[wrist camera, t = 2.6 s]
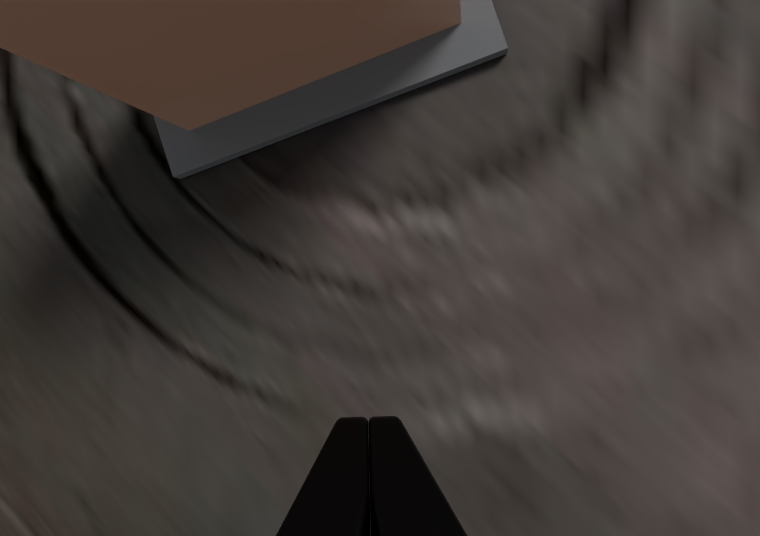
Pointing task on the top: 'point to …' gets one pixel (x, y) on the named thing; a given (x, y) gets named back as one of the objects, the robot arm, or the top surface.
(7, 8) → the terracotta tile
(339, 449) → the robot arm
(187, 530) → the top surface
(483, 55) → the rubber mat
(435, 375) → the top surface
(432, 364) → the top surface
